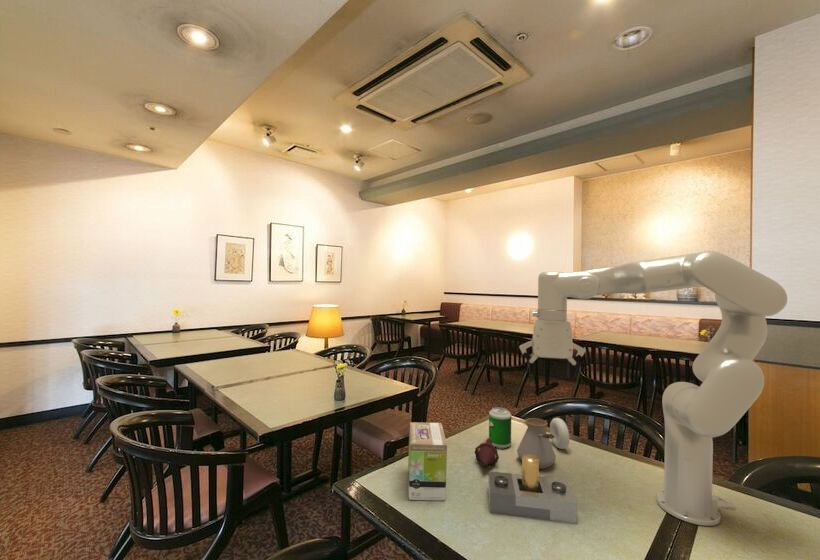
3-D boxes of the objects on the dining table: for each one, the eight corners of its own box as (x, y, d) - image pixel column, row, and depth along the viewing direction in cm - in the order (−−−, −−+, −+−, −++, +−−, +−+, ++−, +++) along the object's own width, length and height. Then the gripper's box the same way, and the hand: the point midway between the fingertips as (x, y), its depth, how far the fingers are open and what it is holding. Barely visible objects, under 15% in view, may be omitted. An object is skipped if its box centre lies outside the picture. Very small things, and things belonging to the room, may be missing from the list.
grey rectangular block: (566, 498, 94) (566, 476, 94) (576, 523, 84) (577, 499, 84) (488, 489, 97) (488, 468, 97) (490, 512, 87) (490, 489, 87)
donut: (547, 441, 127) (548, 413, 127) (557, 441, 128) (557, 413, 128) (561, 454, 117) (561, 424, 117) (571, 454, 118) (571, 424, 118)
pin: (539, 511, 88) (540, 462, 88) (522, 509, 89) (523, 461, 89) (536, 501, 92) (537, 455, 92) (520, 499, 93) (521, 453, 93)
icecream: (500, 457, 102) (502, 440, 116) (475, 447, 104) (480, 431, 119) (493, 481, 102) (496, 460, 116) (468, 470, 104) (474, 451, 119)
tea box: (447, 501, 92) (447, 444, 92) (408, 501, 92) (408, 443, 92) (441, 470, 107) (442, 421, 107) (408, 470, 107) (408, 420, 107)
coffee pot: (513, 453, 118) (513, 407, 118) (548, 454, 118) (549, 409, 118) (531, 490, 97) (532, 435, 97) (574, 492, 96) (575, 437, 96)
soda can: (513, 443, 125) (514, 409, 125) (507, 452, 119) (507, 416, 119) (492, 438, 129) (493, 405, 129) (485, 446, 123) (486, 411, 123)
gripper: (521, 316, 97) (520, 379, 97) (589, 318, 94) (588, 383, 94) (518, 313, 105) (517, 372, 105) (581, 315, 101) (580, 375, 101)
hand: (551, 377), depth 99 cm, fingers open, 9 cm apart
